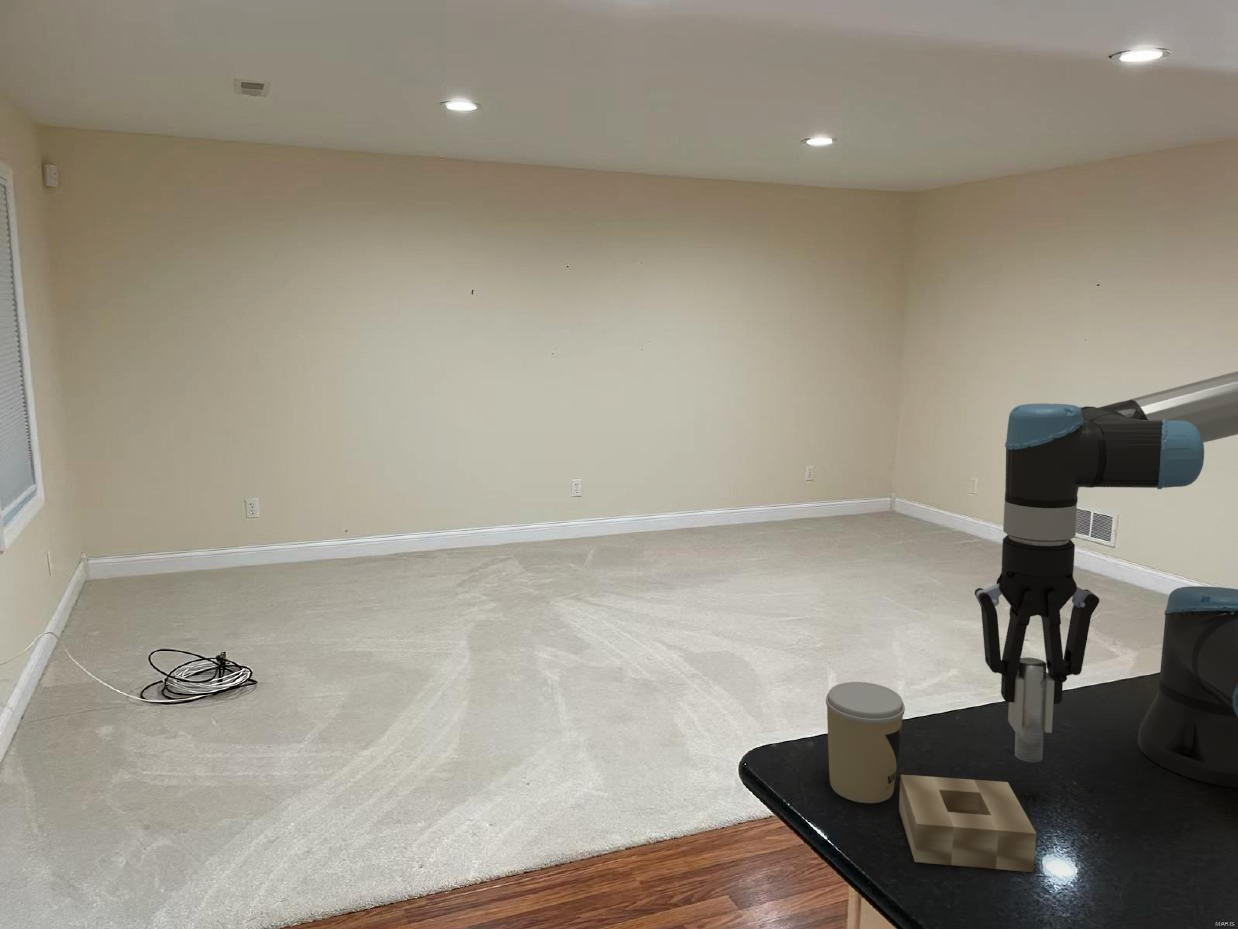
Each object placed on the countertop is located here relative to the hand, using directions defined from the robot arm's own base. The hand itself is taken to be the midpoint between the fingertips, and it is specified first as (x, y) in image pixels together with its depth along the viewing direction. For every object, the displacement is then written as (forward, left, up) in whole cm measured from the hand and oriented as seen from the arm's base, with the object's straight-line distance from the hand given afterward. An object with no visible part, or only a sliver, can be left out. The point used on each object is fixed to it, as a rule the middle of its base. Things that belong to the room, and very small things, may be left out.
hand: (1029, 726), depth 100 cm
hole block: (+10, +10, -9) cm, 17 cm away
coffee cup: (+19, 0, -9) cm, 22 cm away
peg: (0, 0, -4) cm, 4 cm away
